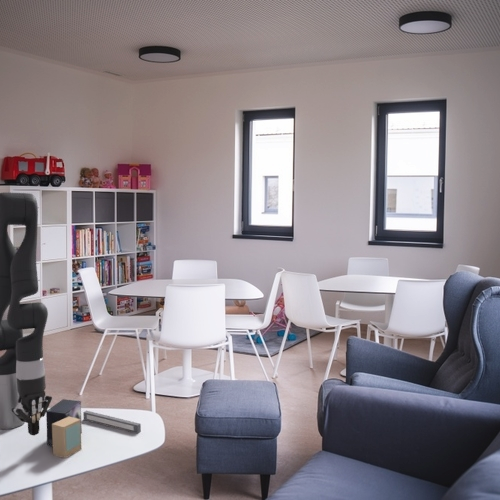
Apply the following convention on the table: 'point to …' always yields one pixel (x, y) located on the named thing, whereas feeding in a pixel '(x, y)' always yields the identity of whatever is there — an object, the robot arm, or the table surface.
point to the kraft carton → (66, 437)
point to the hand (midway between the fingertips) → (33, 434)
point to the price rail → (112, 421)
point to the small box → (61, 415)
